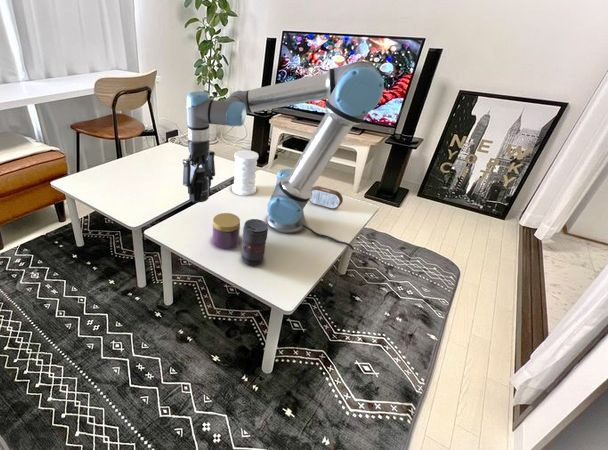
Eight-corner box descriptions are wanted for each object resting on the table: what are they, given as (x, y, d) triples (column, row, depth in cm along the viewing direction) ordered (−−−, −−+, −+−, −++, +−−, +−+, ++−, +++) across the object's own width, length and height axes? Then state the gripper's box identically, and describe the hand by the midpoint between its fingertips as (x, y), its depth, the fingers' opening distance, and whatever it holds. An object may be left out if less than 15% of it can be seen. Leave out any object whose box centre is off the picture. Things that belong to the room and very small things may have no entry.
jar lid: (242, 219, 128) (242, 215, 127) (236, 234, 120) (236, 229, 119) (217, 215, 130) (217, 211, 129) (209, 229, 122) (209, 224, 121)
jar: (241, 236, 132) (243, 216, 127) (235, 251, 124) (236, 230, 119) (216, 232, 135) (217, 212, 130) (209, 246, 127) (209, 226, 122)
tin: (340, 209, 150) (345, 192, 146) (338, 212, 148) (343, 194, 143) (307, 200, 157) (310, 183, 152) (305, 202, 155) (308, 186, 150)
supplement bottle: (206, 203, 128) (206, 174, 121) (189, 202, 129) (187, 172, 122) (210, 195, 133) (210, 166, 127) (193, 193, 135) (192, 165, 128)
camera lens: (258, 270, 115) (262, 234, 107) (236, 262, 119) (239, 226, 111) (267, 258, 121) (272, 222, 113) (247, 250, 124) (250, 215, 116)
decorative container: (230, 194, 161) (232, 158, 151) (233, 183, 171) (235, 149, 161) (255, 196, 160) (258, 160, 150) (256, 185, 169) (259, 150, 159)
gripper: (211, 130, 126) (211, 186, 139) (169, 143, 115) (173, 203, 127) (226, 135, 122) (224, 192, 134) (184, 149, 110) (186, 210, 123)
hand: (199, 197), depth 131 cm, fingers closed on supplement bottle, 7 cm apart
